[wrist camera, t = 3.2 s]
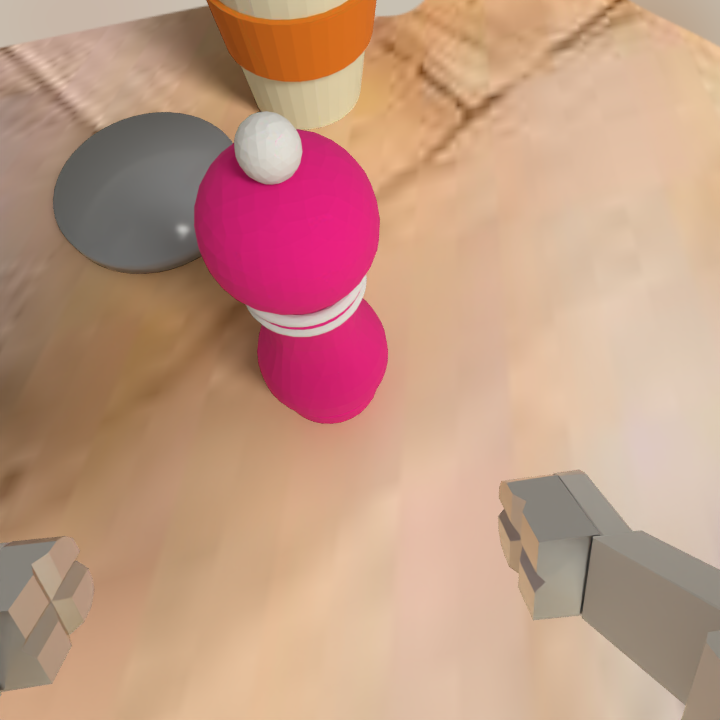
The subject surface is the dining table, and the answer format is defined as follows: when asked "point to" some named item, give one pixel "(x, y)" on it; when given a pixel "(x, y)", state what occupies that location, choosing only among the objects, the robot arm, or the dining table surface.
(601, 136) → the dining table surface
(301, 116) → the reusable coffee cup
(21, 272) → the dining table surface
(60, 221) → the plate
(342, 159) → the pepper mill
